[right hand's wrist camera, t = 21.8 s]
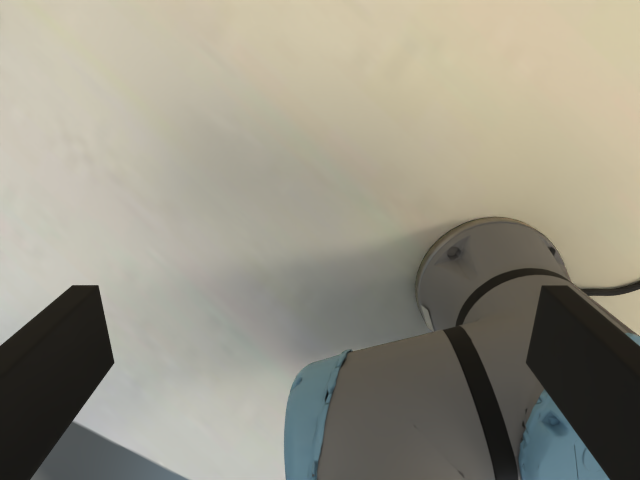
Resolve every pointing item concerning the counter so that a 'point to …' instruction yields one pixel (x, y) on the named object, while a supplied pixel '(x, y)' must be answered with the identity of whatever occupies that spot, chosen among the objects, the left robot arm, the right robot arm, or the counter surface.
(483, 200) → the counter surface
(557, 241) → the counter surface
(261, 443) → the counter surface
